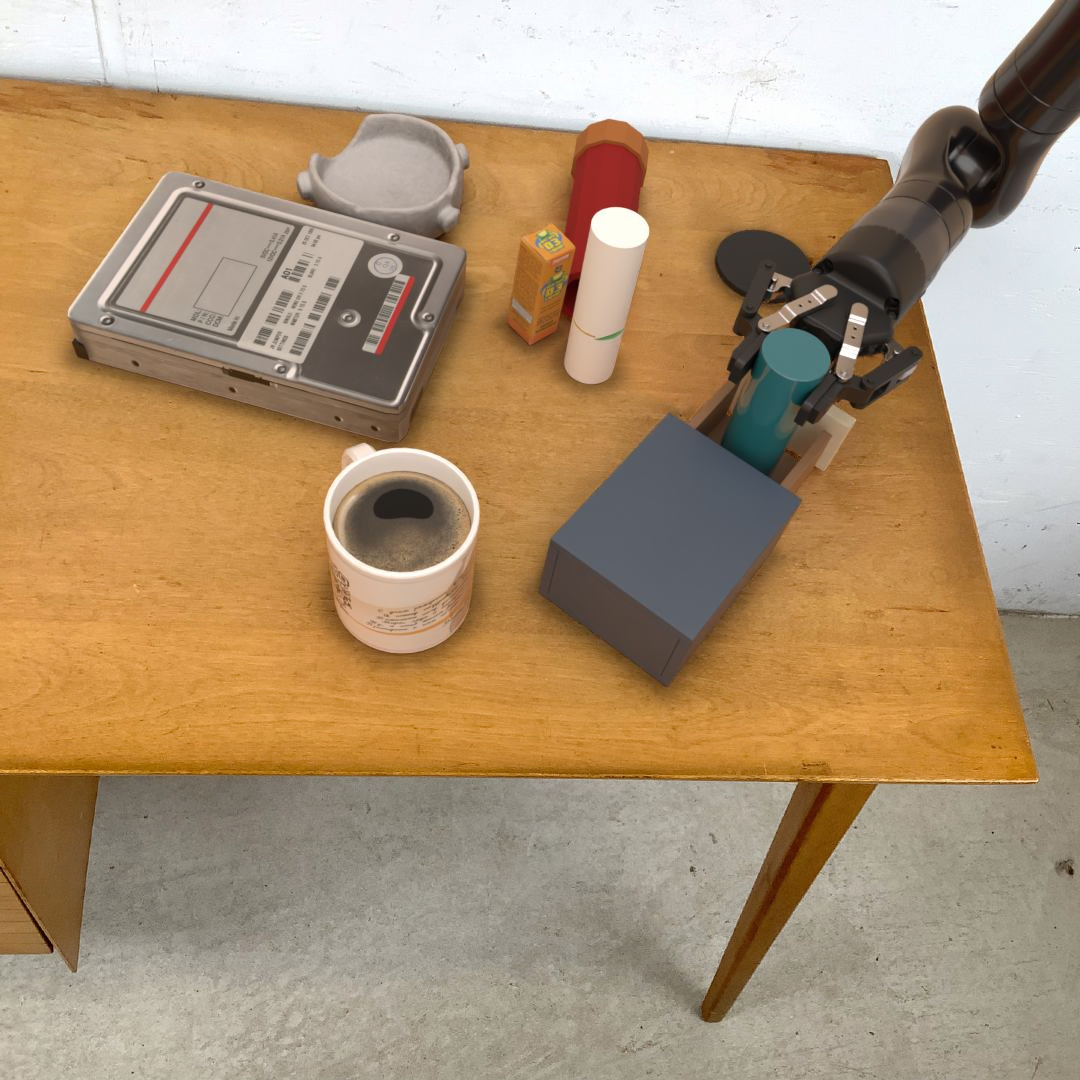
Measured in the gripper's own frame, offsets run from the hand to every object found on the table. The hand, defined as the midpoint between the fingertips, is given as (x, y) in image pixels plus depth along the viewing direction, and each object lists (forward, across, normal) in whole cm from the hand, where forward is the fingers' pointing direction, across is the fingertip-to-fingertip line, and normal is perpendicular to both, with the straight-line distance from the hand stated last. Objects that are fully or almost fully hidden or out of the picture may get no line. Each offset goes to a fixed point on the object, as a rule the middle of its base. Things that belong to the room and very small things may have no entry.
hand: (768, 394), depth 69 cm
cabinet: (+9, 0, +13) cm, 16 cm away
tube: (-4, -16, +13) cm, 21 cm away
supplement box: (-4, -22, +13) cm, 26 cm away
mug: (+22, -14, +13) cm, 29 cm away
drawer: (-4, 0, +12) cm, 13 cm away
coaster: (-25, -11, +13) cm, 30 cm away
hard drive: (+10, -38, +13) cm, 41 cm away
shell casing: (-16, -24, +13) cm, 32 cm away
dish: (-7, -41, +13) cm, 44 cm away
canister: (-3, 0, +11) cm, 11 cm away
